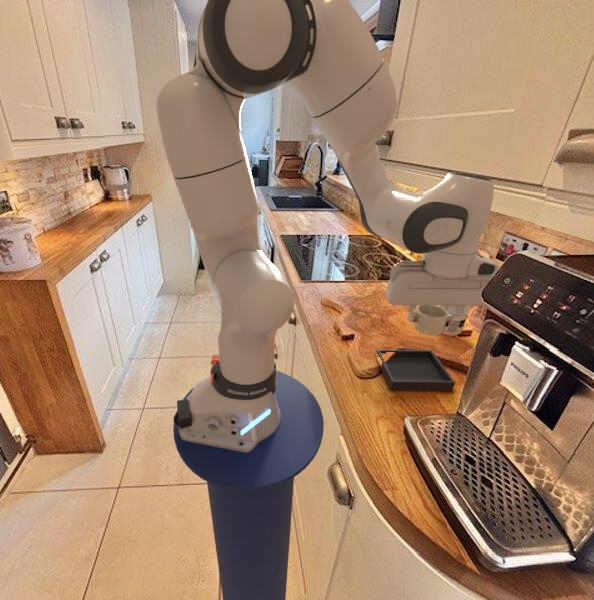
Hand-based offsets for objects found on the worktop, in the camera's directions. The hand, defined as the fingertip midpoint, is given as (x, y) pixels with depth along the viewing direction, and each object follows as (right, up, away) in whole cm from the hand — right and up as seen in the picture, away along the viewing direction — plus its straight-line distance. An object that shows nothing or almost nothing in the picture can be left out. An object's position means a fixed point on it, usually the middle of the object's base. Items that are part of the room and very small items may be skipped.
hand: (429, 321), depth 70 cm
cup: (0, -2, +1) cm, 2 cm away
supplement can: (+20, -4, +28) cm, 35 cm away
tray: (+1, -14, +11) cm, 17 cm away
